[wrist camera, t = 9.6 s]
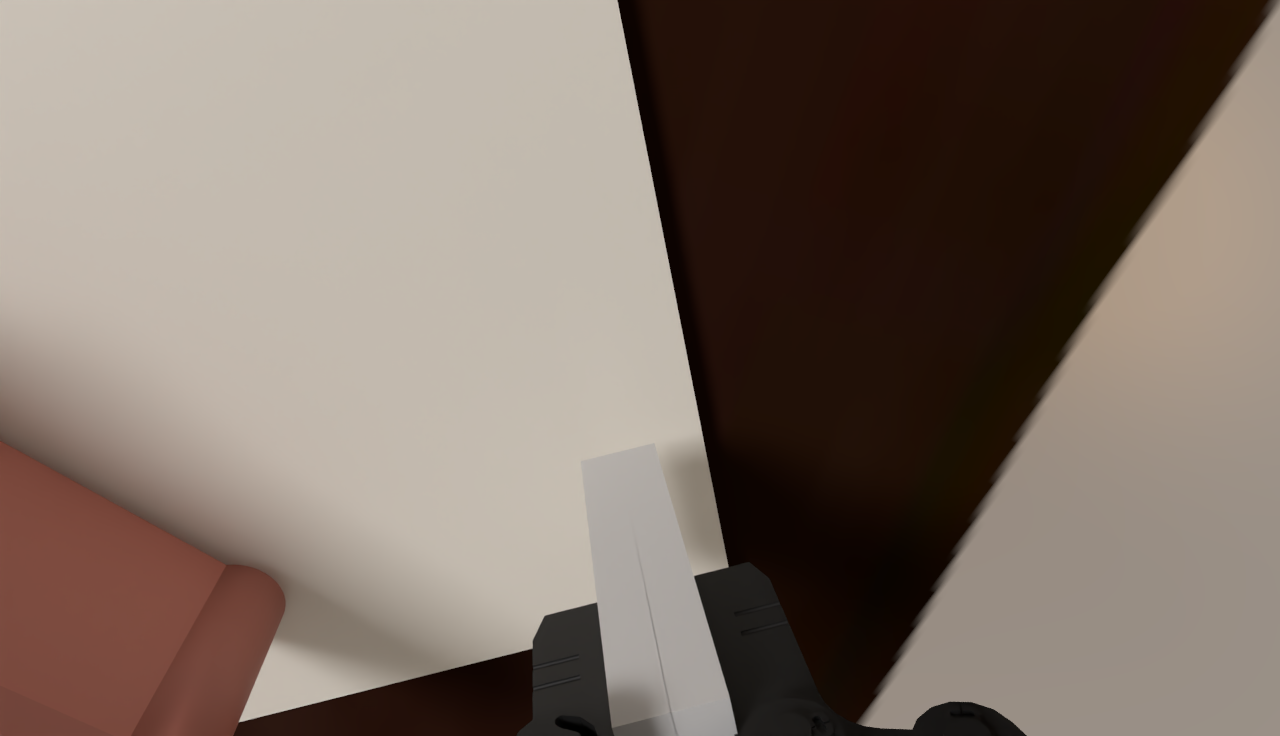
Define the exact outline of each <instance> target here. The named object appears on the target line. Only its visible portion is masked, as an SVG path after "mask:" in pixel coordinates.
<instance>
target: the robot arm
mask: <svg viewBox="0 0 1280 736" xmlns="http://www.w3.org/2000/svg"><path fill="white" fill-rule="evenodd" d="M581 467H582V476H583V484H584V493H585V502H586V510H587V519H588V527H589V536H590V545H591V553H592V562H593V570H594V579H595V587H596V596H597V603H593V604H589V605H585V606H581V607H577V608H573V609H569V610H565V611H561V612H557V613H553V614H549V615H545V616H544V618H543V620H542V622H541V624H540V626H539V628H538V630H537V633H536V635H535V637H534V639H533V670H534V671H533V690H534V692H533V720H532V721H531V722H530V723H528V724H527V725H526V726H525V727H523V728H522V729H521V730H520V731H519V732H518V734H517V735H516V736H1026V735H1025V734H1024V733H1023V732H1022V731H1021V730H1020V729H1019V728H1018V727H1017V726H1016V725H1014V723H1012V722H1011V721H1010V720H1008V719H1007V718H1005V717H1004V716H1002V715H1001V714H1000V713H998V712H997V711H995V710H993V709H991V708H987V707H984V706H981V705H978V704H975V703H972V702H948V703H944V704H941V705H938V706H934V707H931V708H930V709H929V710H927V711H926V712H925V713H924V714H923V715H921V716H920V717H919V718H918V719H917V721H916V723H915V725H914V728H913V730H906V729H905V730H904V729H880V728H873V727H866V726H862V725H859V724H856V723H853V722H850V721H848V720H846V719H845V718H843V717H841V716H840V715H838V714H836V713H835V712H834V711H833V710H832V709H831V708H830V707H829V706H828V705H827V704H826V703H825V702H824V700H823V699H822V697H821V696H820V694H819V692H818V690H817V688H816V685H815V683H814V681H813V678H812V676H811V674H810V671H809V669H808V667H807V665H806V662H805V660H804V658H803V655H802V653H801V651H800V648H799V646H798V644H797V641H796V639H795V637H794V634H793V632H792V630H791V627H790V625H789V624H788V621H787V618H786V616H785V614H784V611H783V609H782V607H781V606H780V603H779V600H778V597H777V595H776V593H775V590H774V588H773V586H772V583H771V581H770V579H769V578H768V577H767V576H766V575H764V574H763V573H762V572H761V571H759V570H758V569H757V568H756V567H754V566H753V565H752V564H751V563H750V562H747V563H743V564H739V565H735V566H731V567H727V568H723V569H719V570H715V571H711V572H708V573H704V574H700V575H696V576H694V575H693V572H692V569H691V565H690V562H689V558H688V555H687V552H686V548H685V545H684V542H683V538H682V535H681V532H680V528H679V525H678V521H677V518H676V515H675V511H674V508H673V505H672V501H671V498H670V494H669V491H668V488H667V484H666V481H665V478H664V474H663V471H662V467H661V464H660V461H659V457H658V454H657V451H656V447H655V444H654V443H653V444H649V445H644V446H640V447H636V448H632V449H628V450H624V451H620V452H616V453H612V454H608V455H604V456H600V457H596V458H592V459H588V460H584V461H581Z"/></svg>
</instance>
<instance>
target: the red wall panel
mask: <svg viewBox="0 0 1280 736" xmlns="http://www.w3.org/2000/svg"><path fill="white" fill-rule="evenodd" d="M285 607H286V601H285V596H284V593H283V591H282V589H281V587H280V586H279V585H278V583H277V582H276V581H275V580H274V579H273V578H271V577H270V576H269V575H267V574H266V573H264V572H262V571H260V570H258V569H255V568H253V567H249V566H244V565H226V564H224V563H222V562H220V561H218V560H217V559H215V558H213V557H211V556H209V555H208V554H206V553H204V552H202V551H200V550H198V549H197V548H195V547H193V546H191V545H189V544H187V543H186V542H184V541H182V540H180V539H178V538H177V537H175V536H173V535H171V534H169V533H167V532H166V531H164V530H162V529H160V528H158V527H157V526H155V525H153V524H151V523H149V522H147V521H146V520H144V519H142V518H140V517H138V516H137V515H135V514H133V513H131V512H129V511H127V510H126V509H124V508H122V507H120V506H118V505H116V504H115V503H113V502H111V501H109V500H107V499H106V498H104V497H102V496H100V495H98V494H96V493H95V492H93V491H91V490H89V489H87V488H86V487H84V486H82V485H80V484H78V483H76V482H75V481H73V480H71V479H69V478H67V477H66V476H64V475H62V474H60V473H58V472H56V471H55V470H53V469H51V468H49V467H47V466H45V465H44V464H42V463H40V462H38V461H36V460H35V459H33V458H31V457H29V456H27V455H25V454H24V453H22V452H20V451H18V450H16V449H15V448H13V447H11V446H9V445H7V444H5V443H4V442H2V441H0V736H233V734H234V732H235V730H236V727H237V725H238V722H239V720H240V718H241V715H242V713H243V710H244V708H245V706H246V703H247V701H248V698H249V696H250V694H251V691H252V689H253V686H254V684H255V682H256V679H257V677H258V674H259V672H260V670H261V667H262V665H263V663H264V660H265V658H266V655H267V653H268V651H269V648H270V646H271V643H272V641H273V639H274V636H275V634H276V631H277V629H278V627H279V624H280V622H281V619H282V617H283V614H284V612H285Z"/></svg>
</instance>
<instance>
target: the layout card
mask: <svg viewBox="0 0 1280 736" xmlns="http://www.w3.org/2000/svg"><path fill="white" fill-rule="evenodd" d="M0 441H2V442H4V443H5V444H7V445H9V446H11V447H13V448H15V449H16V450H18V451H20V452H22V453H24V454H25V455H27V456H29V457H31V458H33V459H35V460H36V461H38V462H40V463H42V464H44V465H45V466H47V467H49V468H51V469H53V470H55V471H56V472H58V473H60V474H62V475H64V476H66V477H67V478H69V479H71V480H73V481H75V482H76V483H78V484H80V485H82V486H84V487H86V488H87V489H89V490H91V491H93V492H95V493H96V494H98V495H100V496H102V497H104V498H106V499H107V500H109V501H111V502H113V503H115V504H116V505H118V506H120V507H122V508H124V509H126V510H127V511H129V512H131V513H133V514H135V515H137V516H138V517H140V518H142V519H144V520H146V521H147V522H149V523H151V524H153V525H155V526H157V527H158V528H160V529H162V530H164V531H166V532H167V533H169V534H171V535H173V536H175V537H177V538H178V539H180V540H182V541H184V542H186V543H187V544H189V545H191V546H193V547H195V548H197V549H198V550H200V551H202V552H204V553H206V554H208V555H209V556H211V557H213V558H215V559H217V560H218V561H220V562H222V563H224V564H226V565H244V566H249V567H253V568H255V569H258V570H260V571H262V572H264V573H266V574H267V575H269V576H270V577H271V578H273V579H274V580H275V581H276V582H277V583H278V585H279V586H280V587H281V589H282V591H283V593H284V596H285V601H286V607H285V612H284V614H283V617H282V619H281V622H280V624H279V627H278V629H277V631H276V634H275V636H274V639H273V641H272V643H271V646H270V648H269V651H268V653H267V655H266V658H265V660H264V663H263V665H262V667H261V670H260V672H259V674H258V677H257V679H256V682H255V684H254V686H253V689H252V691H251V694H250V696H249V698H248V701H247V703H246V706H245V708H244V710H243V713H242V715H241V718H240V720H239V722H242V721H246V720H250V719H254V718H258V717H262V716H266V715H270V714H274V713H278V712H282V711H286V710H290V709H294V708H298V707H302V706H306V705H310V704H314V703H318V702H321V701H325V700H329V699H333V698H337V697H341V696H345V695H349V694H353V693H357V692H361V691H365V690H369V689H373V688H377V687H381V686H385V685H389V684H393V683H397V682H401V681H405V680H409V679H413V678H417V677H421V676H425V675H429V674H433V673H437V672H441V671H445V670H449V669H453V668H457V667H461V666H465V665H469V664H473V663H477V662H481V661H485V660H489V659H493V658H497V657H501V656H505V655H509V654H513V653H517V652H520V651H524V650H528V649H532V648H533V639H534V637H535V635H536V633H537V630H538V628H539V626H540V624H541V622H542V620H543V618H544V616H545V615H549V614H553V613H557V612H561V611H565V610H569V609H573V608H577V607H581V606H585V605H589V604H593V603H597V596H596V587H595V579H594V570H593V562H592V553H591V545H590V536H589V527H588V519H587V510H586V502H585V493H584V484H583V476H582V467H581V461H584V460H588V459H592V458H596V457H600V456H604V455H608V454H612V453H616V452H620V451H624V450H628V449H632V448H636V447H640V446H644V445H649V444H653V443H654V444H655V447H656V451H657V454H658V457H659V461H660V464H661V467H662V471H663V474H664V478H665V481H666V484H667V488H668V491H669V494H670V498H671V501H672V505H673V508H674V511H675V515H676V518H677V521H678V525H679V528H680V532H681V535H682V538H683V542H684V545H685V548H686V552H687V555H688V558H689V562H690V565H691V569H692V572H693V575H694V576H696V575H700V574H704V573H708V572H711V571H715V570H719V569H723V568H727V567H728V562H727V557H726V552H725V547H724V542H723V537H722V532H721V526H720V521H719V516H718V511H717V506H716V501H715V496H714V491H713V486H712V480H711V475H710V470H709V465H708V460H707V455H706V450H705V445H704V440H703V435H702V429H701V424H700V419H699V414H698V409H697V404H696V399H695V394H694V389H693V384H692V378H691V373H690V368H689V363H688V358H687V353H686V348H685V343H684V338H683V333H682V327H681V322H680V317H679V312H678V307H677V302H676V297H675V292H674V287H673V282H672V276H671V271H670V266H669V261H668V256H667V251H666V246H665V241H664V236H663V231H662V225H661V220H660V215H659V210H658V205H657V200H656V195H655V190H654V185H653V179H652V174H651V169H650V164H649V159H648V154H647V149H646V144H645V139H644V134H643V128H642V123H641V118H640V113H639V108H638V103H637V98H636V93H635V88H634V83H633V77H632V72H631V67H630V62H629V57H628V52H627V47H626V42H625V37H624V32H623V26H622V21H621V16H620V11H619V6H618V1H617V0H0Z"/></svg>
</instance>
